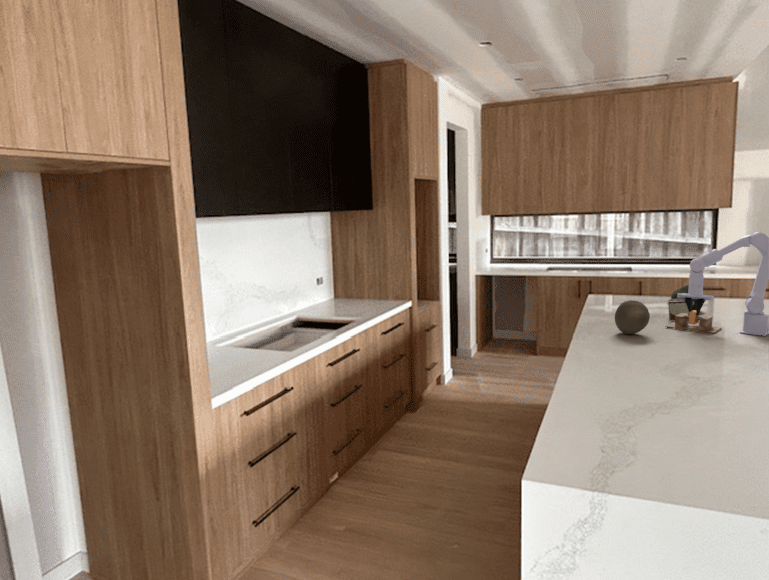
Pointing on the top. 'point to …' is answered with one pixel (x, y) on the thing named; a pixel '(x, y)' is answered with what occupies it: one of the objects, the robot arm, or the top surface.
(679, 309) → the food container
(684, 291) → the squash
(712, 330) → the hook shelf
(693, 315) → the orange step-cut beam
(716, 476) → the top surface
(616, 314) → the cantaloupe
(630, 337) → the top surface
